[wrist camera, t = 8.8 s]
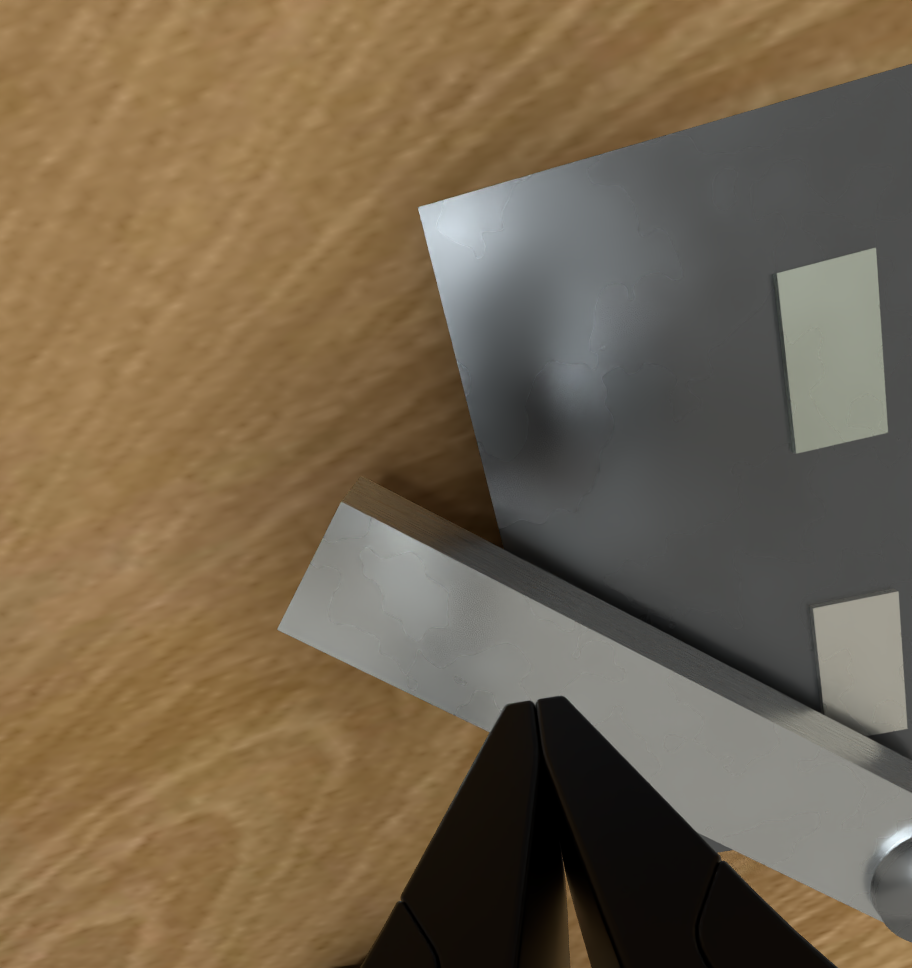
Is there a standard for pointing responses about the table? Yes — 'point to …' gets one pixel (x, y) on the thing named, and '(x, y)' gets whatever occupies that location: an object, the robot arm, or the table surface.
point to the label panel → (711, 386)
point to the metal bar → (611, 695)
